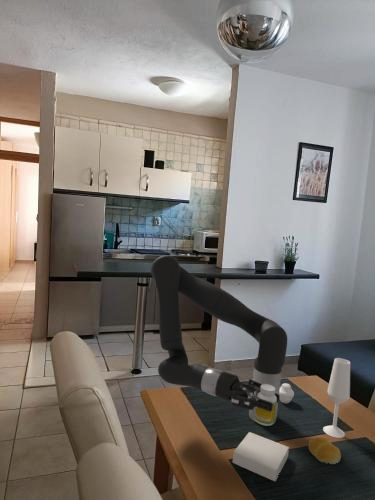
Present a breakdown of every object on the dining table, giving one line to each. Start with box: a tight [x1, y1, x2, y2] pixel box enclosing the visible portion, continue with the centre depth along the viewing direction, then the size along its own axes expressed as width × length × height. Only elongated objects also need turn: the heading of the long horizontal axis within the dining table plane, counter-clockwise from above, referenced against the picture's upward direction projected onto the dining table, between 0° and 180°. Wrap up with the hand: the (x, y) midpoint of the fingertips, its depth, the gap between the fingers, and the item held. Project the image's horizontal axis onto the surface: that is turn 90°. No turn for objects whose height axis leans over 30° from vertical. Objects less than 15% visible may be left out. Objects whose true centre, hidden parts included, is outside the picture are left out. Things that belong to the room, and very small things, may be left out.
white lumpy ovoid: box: [279, 382, 295, 404], centre depth 136 cm, size 6×6×7 cm
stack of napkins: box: [232, 431, 290, 482], centre depth 100 cm, size 12×12×3 cm
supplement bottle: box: [255, 384, 277, 427], centre depth 99 cm, size 5×5×10 cm
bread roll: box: [308, 436, 342, 465], centre depth 105 cm, size 8×9×4 cm
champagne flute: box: [322, 357, 351, 439], centre depth 117 cm, size 7×7×24 cm
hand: (275, 402), depth 98 cm, fingers closed on supplement bottle, 5 cm apart
